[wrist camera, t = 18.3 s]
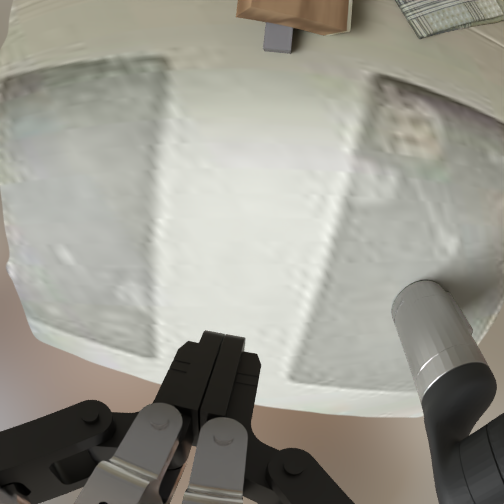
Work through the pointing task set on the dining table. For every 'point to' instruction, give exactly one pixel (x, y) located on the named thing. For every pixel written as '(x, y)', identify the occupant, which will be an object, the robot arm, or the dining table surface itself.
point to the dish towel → (449, 14)
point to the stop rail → (278, 38)
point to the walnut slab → (300, 14)
